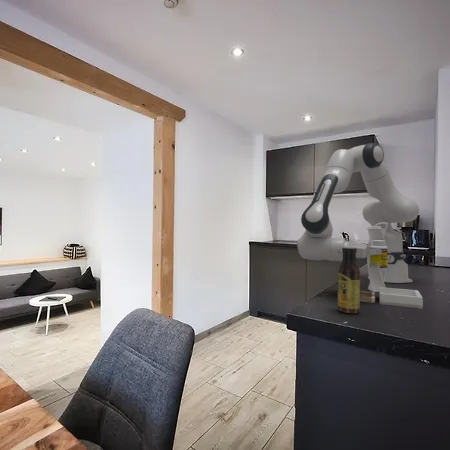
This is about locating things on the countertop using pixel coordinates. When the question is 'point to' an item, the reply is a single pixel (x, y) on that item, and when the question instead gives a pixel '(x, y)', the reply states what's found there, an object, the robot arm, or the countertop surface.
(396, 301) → the tray
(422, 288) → the countertop surface
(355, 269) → the sauce bottle
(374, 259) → the supplement bottle
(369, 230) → the skyscraper
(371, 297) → the wooden frame
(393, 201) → the robot arm
